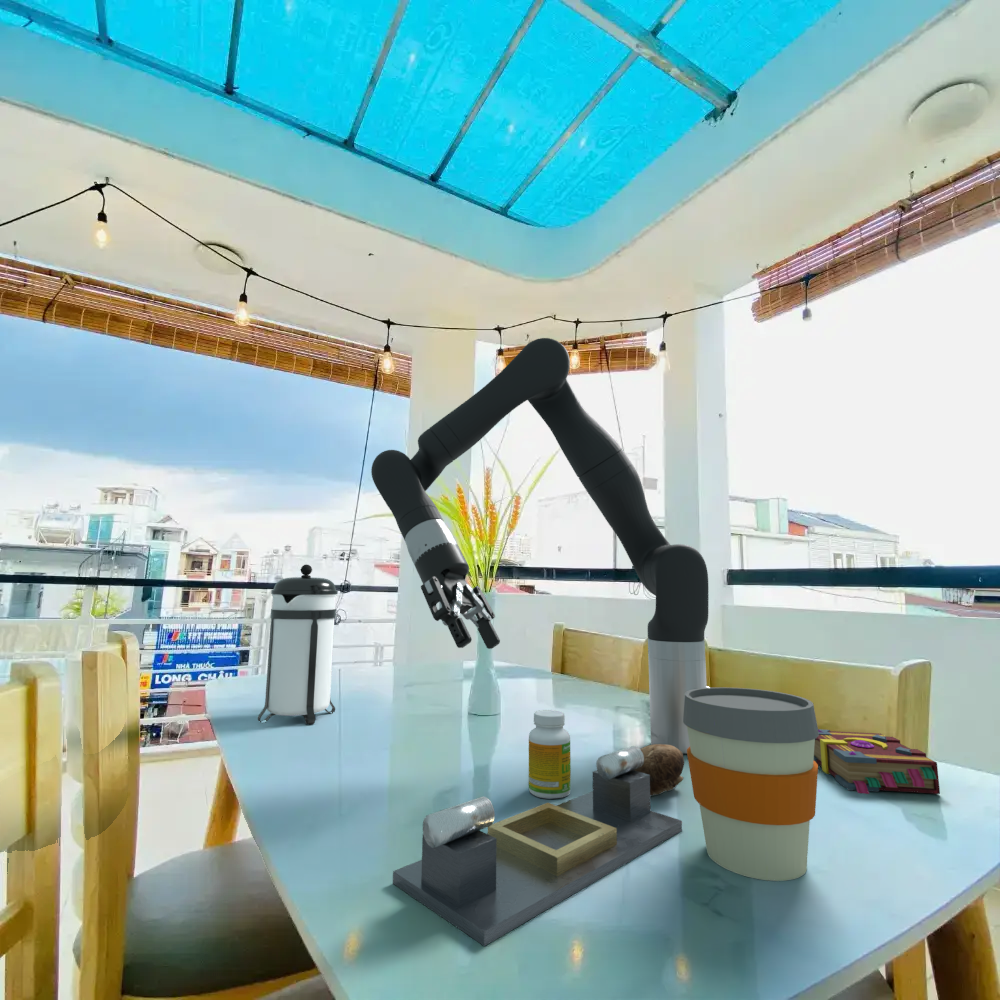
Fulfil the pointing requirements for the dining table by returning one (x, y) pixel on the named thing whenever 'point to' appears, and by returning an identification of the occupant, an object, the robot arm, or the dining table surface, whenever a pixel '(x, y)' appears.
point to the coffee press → (300, 647)
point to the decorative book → (874, 763)
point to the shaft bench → (533, 850)
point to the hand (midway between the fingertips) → (480, 645)
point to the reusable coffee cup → (753, 777)
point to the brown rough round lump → (662, 767)
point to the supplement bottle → (549, 756)
